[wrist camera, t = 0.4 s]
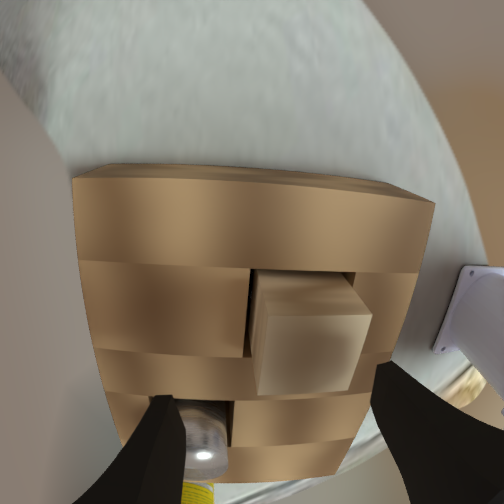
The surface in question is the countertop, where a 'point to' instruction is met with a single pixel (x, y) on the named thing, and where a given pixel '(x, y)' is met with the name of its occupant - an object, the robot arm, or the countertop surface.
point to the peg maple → (305, 331)
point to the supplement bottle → (197, 493)
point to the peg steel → (204, 438)
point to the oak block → (237, 295)
